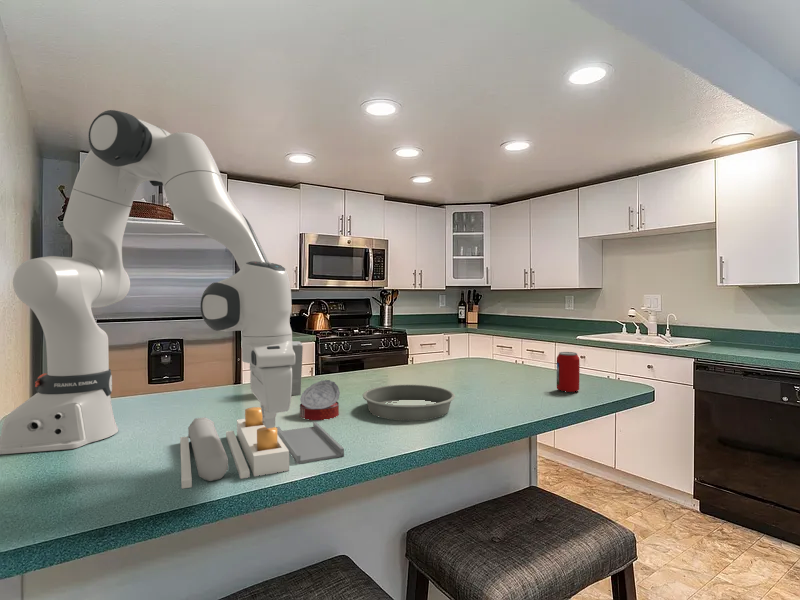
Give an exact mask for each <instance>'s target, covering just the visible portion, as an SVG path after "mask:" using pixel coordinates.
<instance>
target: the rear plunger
mask: <svg viewBox="0 0 800 600" xmlns="http://www.w3.org/2000/svg"><path fill="white" fill-rule="evenodd" d="M244 419H245V427H252V426H260V425H263V420H262V411H261V406H260V407H259V406H257V407H256V406H253V407H247V408H245V409H244Z"/></svg>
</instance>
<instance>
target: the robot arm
mask: <svg viewBox="0 0 800 600" xmlns="http://www.w3.org/2000/svg"><path fill="white" fill-rule="evenodd" d="M88 145H89V148H90V150H89V152H88V153H87V155H86V157H85V159H84V160H83V162H82V164H81V166H80V168H79V169H78V170H79V171H78V172H77V175H76V178H75V181H74V183H73V187H72V189H71V192H70V197H69V201H68V204H67V206H66V210H65V213H64V218H63V220H62V221H63V223H62V225H63V228H64V230H65V231H66V232H67V233H68V235H70V238H71V241H72V256H70V257H69V256H59V255H57V256H56V255H47V256H41V257H37V258H36V257H35V258H31V259H28V260H25V261H24V262H22V263H21V264H20V265H18V267H17V268H16V270H15V272H14V275H13V279H12V285H13V290H14V293H15V295H16V297H17V298H18V299H19V300H20V302H22V303H23V304H25V305H26V306H28V307H29V308H30V310H32V312H33V313H34V315H35V316H36V318H37V319H38V321H39V323H40V326H41V329H42V331H43V334H44V339H45V347H46V365H47V373H45V372H44V373H42V374H40V375H39V376H38V377H37V379H36V380H35V382H34V383H35V384H34V385H35V386H34V387H35V391H36V393H35V394H33V396H30V398H28V399H27V400H26V401H24V402H22V403H21V404H20V405H19V406H17V407H16V408H14V409H13V410H12V411H10V413H8V414H7V416H6V417H5V419H4V421H3V422H2V426H1V432H0V455H10V454H21V453H22V454H23V453H33V452H35V453H37V452H47V451H49V452H50V451H61V450H72V449H77V448H81V447H82V446H85V445H88V444H91V443H95V442H97V441H101V440H103V439H108V438H110V437H111V436H113V435H116V434H117V433H118V432H119V427H118V424H117V423H116V419H115V416H114V411H113V406H112V405H113V404H112V398H111V395H112V392H113V375H112V370H111V369H110V365H109V363H110V359H109V355H110V354H109V353H110V352H109V349H110V348H109V336H108V333H106V331H105V330H104V329H102V328H101V327H100V326H99V325H98V324H97V321H96V319H95V316H94V314H93V311H92V308H104V307H108V306H111V305H114V304H117V303H118V302H121V301H123V300H124V299H125V298H126V296H127V295H128V294H129V291H130V289H131V280H130V276H129V274H128V273H127V271H126V269H125V267H124V263H123V240H124V234H125V230H126V227H127V223H128V220H129V216H130V213H131V210H132V206H133V202H134V199H135V194H136V191H137V189H138V187H139V186H140V185H141V184H142V183H145V182H148V181H149V183H150V184H151V185H152V186H153V187H160V186H163V189H164V194H165V197H166V200H167V203H168V205H169V208H170V210H171V212H172V214H173V215H174V217H175V218H176V219H177V220H178V221H179V222H180V223H181V224H182V225H184V226H185V227H186V228H188V229H190V230H192V231H195V232H196V233H199V234H202V235H205V236H207V237H208V238H211V239H213V240H215V241H216V242H218V243H220V244H222V245H223V246H224V247H226V249H227V250H228V251H229V252H230V253H231V255H233V257H234V260H235V262H236V264H237V266H238V269H239V271H238V272H236V273H234V274H233V275H231V276H229V277H227V278H225V279H222V280H220V281H216V282H213V283H211V284H209V285H208V286H207V287H206V288H205V289H204V291H203V293H202V295H201V298H200V306H199V307H200V313H201V317H202V320H203V321H204V323H205V324H206V325H207V327H208V328H210V329H211V330H213V331H218V332H226V333H227V332H236V331H238V332H239V331H241V361H242V363H247V364H249V370H250V371H249V372H250V379H249V380H250V382H249V383H250V390H251V391H250V392H251V393H252V394H253V395H254V396H255V398H256V399H257V400H258V402H259V403H260V404H259V405H260V408H261V411H262V420H263V424H264V425H265V427H266V428H274V427H276V416H277V414H278V413H284V412H285V413H286V412H288V411H289V410H290V407H291V402H292V395H291V393H292V367H291V365H295V353H294V351H293V344H292V341H293V330H292V327H291V324H290V322H291V319H290V318H291V315H292V310H293V308H292V304H293V303H292V289H291V288H292V287H291V282H290V276H289V274H288V271H287V268H285V266H282V265H280V264H277V263H273V262H269V260H268V257H267V255H266V254H265V252H264V249H263V247H262V245H261V243H260V241H259V238H258V237H257V235H256V233H255V231H254V228H253V227H252V225H251V224H250V222H249V220H248V219H247V218H246V216H244V214H243V213H242V212H241V211H240V209H239V208H238V207H237V205H236V204H235V202H234V201H233V199H232V197H231V196H230V194H229V192H228V190H227V188H226V186H225V184H224V181H223V177H222V175H221V171H220V170H219V168H218V165H217V162H216V161H215V158H214V157H213V155H212V152H211V151H210V149H209V147H208V146H207V144H206V143H205V141H204V139H202V138H201V137H199V136H198V135H196V134H194V133H191V132H184V131H180V132H179V131H178V132H173V133H170V132H169V131H168V130H166V129H163V128H162V127H160V126H158V125H154V124H151V123H150V122H147V121H145V120H143V119H140V118H137V117H135V116H134V115H133V114H130V113H128V112H124V111H121V110H115V109H113V110H112V109H110V110H108V109H107V110H105V111H103V112H101V113H99V114H98V115H97V116H96V117H95V118H94V119H93V121H92V122H91V123H90V127H89V130H88Z"/></svg>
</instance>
